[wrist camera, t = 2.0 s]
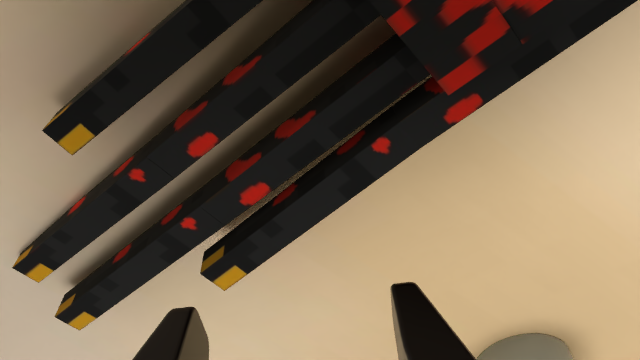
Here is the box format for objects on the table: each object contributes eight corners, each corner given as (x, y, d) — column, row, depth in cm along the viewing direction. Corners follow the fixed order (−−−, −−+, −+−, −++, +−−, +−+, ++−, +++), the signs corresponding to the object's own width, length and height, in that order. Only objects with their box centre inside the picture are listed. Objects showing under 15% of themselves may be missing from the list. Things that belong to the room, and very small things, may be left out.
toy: (137, 285, 27) (824, -202, 15) (105, 376, 23) (1001, -179, 11) (-24, 186, 24) (723, -584, 11) (-93, 275, 20) (940, -761, 7)
